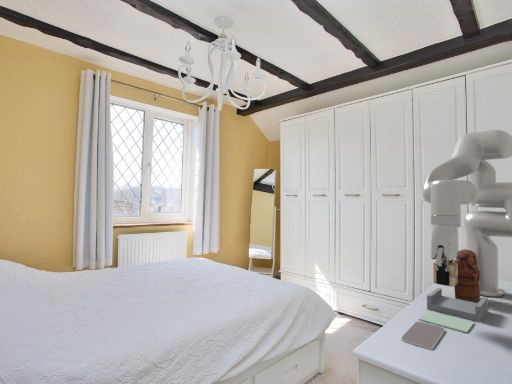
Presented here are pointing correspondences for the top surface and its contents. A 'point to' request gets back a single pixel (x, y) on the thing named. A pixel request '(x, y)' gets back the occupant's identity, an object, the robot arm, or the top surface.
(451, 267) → the beech block
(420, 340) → the smartphone
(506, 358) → the top surface
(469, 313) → the gray u-shaped channel
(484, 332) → the top surface
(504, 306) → the top surface
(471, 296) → the wooden figurine
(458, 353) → the top surface
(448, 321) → the sage mat
